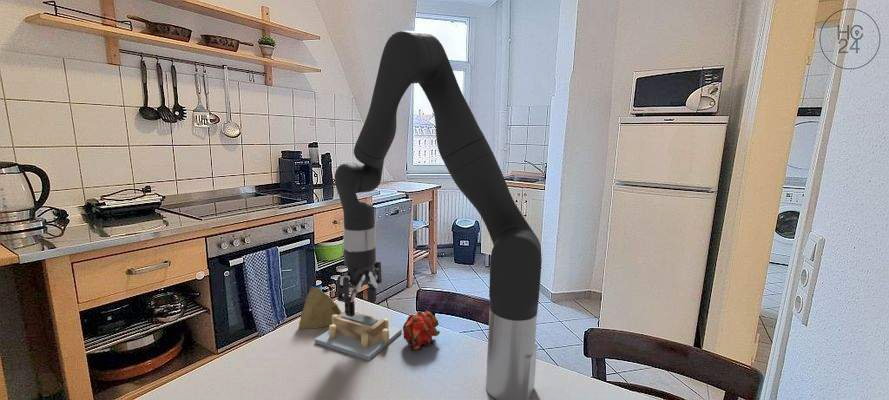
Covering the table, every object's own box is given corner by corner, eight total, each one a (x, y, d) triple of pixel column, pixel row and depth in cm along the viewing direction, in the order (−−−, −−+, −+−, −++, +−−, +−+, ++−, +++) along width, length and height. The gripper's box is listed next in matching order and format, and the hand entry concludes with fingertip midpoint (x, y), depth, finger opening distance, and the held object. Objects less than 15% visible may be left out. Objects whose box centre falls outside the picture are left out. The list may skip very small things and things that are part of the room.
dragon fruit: (432, 336, 100) (415, 368, 89) (407, 316, 101) (387, 345, 90) (450, 317, 97) (434, 348, 86) (424, 296, 97) (405, 324, 86)
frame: (385, 335, 96) (385, 319, 95) (373, 344, 91) (373, 327, 90) (346, 324, 100) (346, 308, 100) (334, 332, 96) (333, 316, 95)
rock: (352, 308, 107) (320, 298, 109) (345, 293, 101) (312, 283, 103) (333, 344, 100) (300, 334, 102) (324, 331, 94) (289, 320, 96)
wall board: (403, 333, 99) (403, 318, 98) (371, 361, 86) (371, 344, 85) (350, 318, 106) (350, 304, 105) (313, 342, 93) (312, 327, 93)
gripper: (365, 236, 100) (366, 295, 103) (326, 251, 88) (329, 317, 90) (389, 240, 97) (390, 300, 100) (353, 255, 84) (355, 324, 87)
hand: (361, 308), depth 95 cm, fingers open, 8 cm apart
